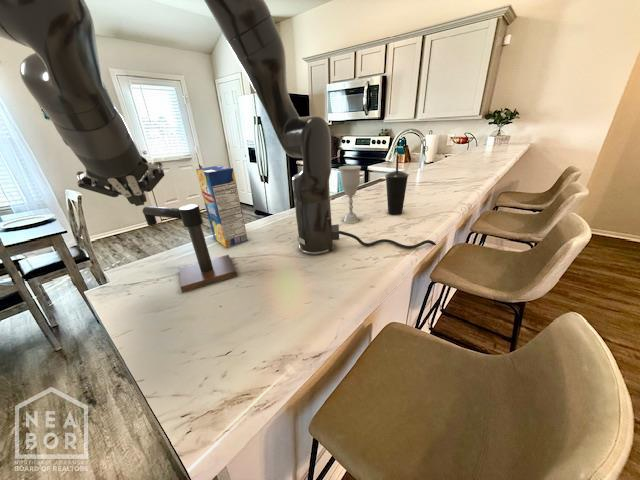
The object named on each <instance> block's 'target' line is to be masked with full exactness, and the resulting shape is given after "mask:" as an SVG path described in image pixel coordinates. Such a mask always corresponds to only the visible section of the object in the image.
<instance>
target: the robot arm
mask: <svg viewBox="0 0 640 480" xmlns="http://www.w3.org/2000/svg"><path fill="white" fill-rule="evenodd" d="M203 1H204V3H205V4H206V6H207V8H208V10H209V12H210V13H211V15H212V16H213V18H214V20H215V22H216V24H217V26H218V27H219V29H220V32H221V33H222V35H223V37H224V39H225V41H226V43H227V44H228V46H229V48H230V49H231V52H232V54H233V55H234V57H235V59H236V60H237V62H238V64H239V66H240V67H241V70H243V72H244V74H245V76H246V77H247V80H248V81H249V83H250V85H251V87H252V89H253V90H254V93H255V94H256V96H257V98H258V100H259V101H260V104H261V105H262V107H263V109H264V111H265V113H266V115H267V118H268V119H269V122H270V124H271V126H272V129H273V131H274V133H275V136H276V138H277V140H278V142H279V144H280V146H281V147H282V149H283V151H284V152H285V154H287V155H288V156H289V157H291V158H294V159H300V160H301V159H302V169H301V171H300V172H299V173H296V174H294V175H293V176H292V178H291V181H292V182H291V185H292V190H293V192H292V193H293V201H294V210H295V218H296V226H297V234H298V236H297V237H296V238H297V242H298V244H299V246H298V248H299V251H300V252H301V253H303V254H306V255H311V256H316V255H317V256H318V255H323V254H327V253H329V252H333V251H334V241H340V235H343V236H346V237H349V238H352V239H355V241H357V242H358V243H359V245H361V246H364V247H372V246H375V245H378V244H381V243H388V244H392V245H394V246H396V247H399V248H402V249H406V250H407V249H408V250H411V249H417V248H419V247H422V246H424V245H426V244H430V245H432V246H437V243H436V242H435V241H434V240H431V239H426V240H422V241H420V242H418V243H416V244H413V245H406V244H402V243H400V242H397V241H395V240H392V239H387V238H382V239H377V240H375V241H372V242H364V241H363V240H362V239H361V238H360V237H359V236H356V235H355V234H353V233H349V232H347V231H342V230H340V225H339V224H333V221H332V220H333V219H332V208H331V193H330V178H331V174H332V136H331V135H332V134H331V131H330V127H329V124H328V123H327V121H326V120H325V119H324V118H323V117H321V116H319V115H310V116H309V115H308V116H300V115H299V113H298V112H297V109H296V108H295V106H294V103H293V102H292V100H291V97H290V94H289V90H288V83H287V57H286V50H285V45H284V41H283V38H282V36H281V34H280V32H279V29H278V27H277V24H276V22H275V20H274V17H273V15H272V14H271V11H270V9H269V6H268V5H267V3H266V1H265V0H203ZM0 38H2V39H5V40H8V41H10V42H13V43H17V44H19V45H22V46H24V47H27V48H29V49H32V50H33V52H34V53H31V54H29V55H28V56H25V58H24V59H23V60H22V61H21V62H20V65H19V75H20V78H21V81H22V82H23V84H24V86H25V88H26V89H27V91H28V92H29V94H30V95H31V96H32V98H33V99H34V100H35V101H36V103H37V104H38V105H39V107H40V108H41V109H42V111H43V112H44V113H45V114H46V115H47V117H48V118H49V120H50V121H51V122H52V124H53V127H54V128H55V130H56V132H57V133H58V134H59V135H60V137H61V140H62V141H63V143H64V144H65V145H66V146H67V147H69V149H70V150H71V151H72V153H73V154H74V155H75V156H76V157H77V159H78V160H79V162H80V163H81V164H82V165H83V167H84V169H85V171H82V170H80V171H77V172H76V182H77V186H78V188H80V189H84V190H86V191H87V190H88V191H91V192H94V193H98V194H101V195H104V196H108V197H111V198H118V197H119V196H123V197H124V198H126V200H127V201H128V203H129V204H130V205H134V206H135V207H139V206H144V205H145V203H147V201H148V199H147V194H146V193H151V192H152V191H153V190H154V188H155V187H156V186H157V185H158V184H159V183H160V182H161V180H162V179H163V178H164V177H165V171H164V167H163V164H162V162H161V161H156V162H154V163H150V162H148V160H147V159H146V158H145V157H144V156H143V155H141V154H140V151H139V149H138V147H137V144H136V143H135V141H134V138H133V136H132V134H131V132H130V130H129V128H128V126H127V123H126V122H125V120H124V117H123V116H122V115H121V113H120V111H119V110H118V108H117V107H116V105H115V103H114V102H113V99H112V96H111V95H110V93H109V91H108V89H107V87H106V85H105V83H104V80H103V78H102V77H103V76H102V72H101V64H100V57H99V53H98V47H97V40H96V39H97V38H96V30H95V24H94V20H93V16H92V14H91V11H90V8H89V7H88V4H87V2H86V1H85V0H0ZM106 187H107V188H106Z"/></svg>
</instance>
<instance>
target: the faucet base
mask: <svg viewBox="0 0 640 480" xmlns="http://www.w3.org/2000/svg"><path fill="white" fill-rule="evenodd" d="M187 230H188V234H189V237H190V241H191V243H192V247H193V251H194V254H195V257H196V260H197V262H196V263H193V264H188V265H185V266H181V267H179V283H180V285H179V286H180V290H181V293H186V292H189V291H193V290H195V289H200V288H202V287H205V286H208V285H213V284H216V283H218V282H222V281H225V280H229V279H232V278H236V277H237V276H238V273H237V270H236V268H235V265H234V263H233V261H232V259H231V257H230V255H229V254H226V255H222V256H218V257H213V258H211V256H210V253H209V249H208V246H207V241H206V238H205V234H204V231H203V226H202V224H201V225H199V226H195V227H187Z"/></svg>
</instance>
